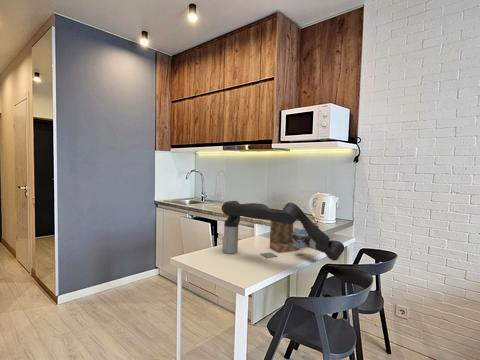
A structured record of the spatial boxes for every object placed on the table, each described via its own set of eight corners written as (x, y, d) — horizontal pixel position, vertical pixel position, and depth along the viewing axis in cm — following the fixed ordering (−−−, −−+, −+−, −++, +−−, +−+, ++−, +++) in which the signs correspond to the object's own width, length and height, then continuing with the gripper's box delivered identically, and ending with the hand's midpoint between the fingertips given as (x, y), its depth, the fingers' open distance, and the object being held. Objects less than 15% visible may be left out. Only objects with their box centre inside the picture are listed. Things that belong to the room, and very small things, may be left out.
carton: (298, 248, 176) (299, 229, 175) (293, 246, 181) (294, 227, 180) (305, 247, 178) (305, 229, 178) (300, 245, 183) (300, 227, 182)
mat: (266, 258, 172) (266, 257, 172) (260, 254, 179) (260, 253, 179) (277, 256, 175) (277, 256, 175) (270, 252, 182) (270, 252, 182)
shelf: (278, 252, 183) (279, 220, 182) (269, 248, 193) (270, 217, 192) (300, 250, 191) (302, 218, 190) (290, 245, 201) (292, 216, 200)
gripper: (324, 235, 169) (306, 229, 185) (305, 237, 163) (288, 230, 178) (323, 247, 170) (305, 240, 185) (304, 250, 163) (287, 242, 179)
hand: (297, 235), depth 182 cm, fingers closed on carton, 5 cm apart
